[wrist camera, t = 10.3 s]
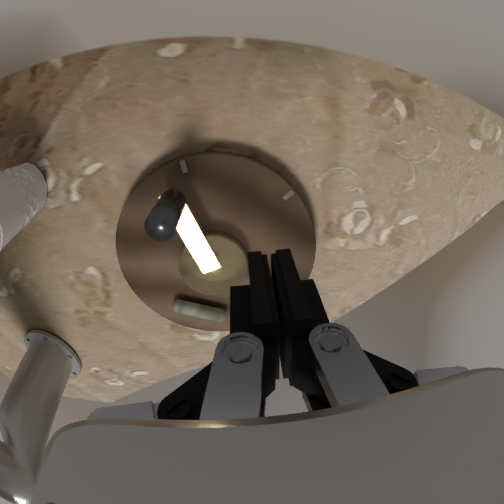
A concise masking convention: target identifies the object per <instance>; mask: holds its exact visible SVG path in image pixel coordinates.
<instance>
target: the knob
mask: <svg viewBox="0 0 504 504" xmlns="http://www.w3.org/2000/svg"><path fill="white" fill-rule="evenodd" d="M144 228H145V231H146V233H147V235H148V236H149V237H150V238H152V239H153V240H155V241H160V242H163V241H167V240H169V239H171V238H172V237H173V235H174V233H175V231H176V229H177V231H178V232H179V234H180V236H181V238H182V239H183V241H184V243H185V244H184V246H183V248H182V251H181V254H180V257H179V262H178V269H179V273H180V276H181V278H182V279H183V281H184V282H185V283H186V284H187V285H188V286H189V287H190V288H191V289H193V290H195V291H197V292H199V293H202V294H205V295H223V294H226V293H229V292H230V286H239V285H241V283H242V282H243V280H244V279H245V276H246V273H247V259H246V252H245V250H244V248H243V246H242V244H241V243H240V242H239V241H238V240H237V239H236V238H235V237H233V236H232V235H230V234H228V233H226V232H223V231H218V230H206V231H204V229H203V227H202V225H201V224H200V222H199V220H198V218H197V216H196V214H195V213H194V211H193V209H192V207H191V205H190V203H189V201H188V199H187V198H186V196H185V194H184V192H183V190H182V188H181V186H180V184H179V185H177V186H175V187H173V188H171V189H169V190H167V191H165V192H163V193H161V194H160V195H159V200H158V201H157V203H156V204H155V206H154V207H153V209H152V210H151V212H150V213H149V215H148V216H147V218H146V220H145V223H144Z"/></svg>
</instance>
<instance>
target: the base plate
mask: <svg viewBox="0 0 504 504" xmlns="http://www.w3.org/2000/svg"><path fill="white" fill-rule="evenodd" d="M179 184H180V186H181V188H182V190H183V192H184V194H185V196H186V198H187V199H188V201H189V203H190V205H191V207H192V209H193V211H194V213H195V214H196V216H197V218H198V220H199V222H200V224H201V225H202V227H203V229H204V231H206V230H218V231H223V232H226V233H228V234H230V235H232V236H233V237H235V238H236V239H237V240H238V241H239V242H240V243H241V244H242V246H243V248H244V250H245V252H246V259H247V273H246V276H245V279H244V280H243V282H242V283H241V285H250V281H249V268H248V256H247V252H254V251H261V254H267V258H268V263H269V268H270V273H271V254H274V253H276V250H279V249H290V250H291V253H292V256H293V259H294V262H295V265H296V268H297V271H298V274H299V277H300V280H307V279H308V278H309V276H310V273H311V271H312V268H313V264H314V260H315V251H316V241H315V232H314V228H313V223H312V221H311V218H310V215H309V213H308V211H307V209H306V207H305V205H304V204H303V202H302V200H301V198H300V197H299V195H298V194H297V192H296V191H295V190H294V188H293V187H292V186H291V185H290V184H289V183H288V182H287V181H286V180H285V179H284V178H283V177H282V176H281V175H280V174H279V173H277V172H276V171H274V170H273V169H272V168H270V167H269V166H267V165H265V164H263V163H261V162H259V161H257V160H255V159H252V158H249V157H247V156H244V155H240V154H235V153H230V152H219V151H209V152H198V153H193V154H188V155H184V156H182V157H179V158H176V159H174V160H171V161H169V162H167V163H166V164H164V165H162V166H160V167H159V168H157V169H156V170H155V171H153V172H152V173H151V174H149V175H148V176H147V177H146V178H145V179H144V180H143V181H142V182H141V183H140V184H139V186H138V187H137V188H136V189H135V190H134V191H133V192H132V194H131V195H130V197H129V198H128V200H127V201H126V203H125V205H124V207H123V209H122V211H121V214H120V217H119V221H118V225H117V231H116V250H117V257H118V261H119V264H120V268H121V270H122V272H123V275H124V277H125V279H126V280H127V282H128V284H129V285H130V287H131V288H132V290H133V291H134V292H135V294H136V295H137V296H138V297H139V298H140V299H141V300H142V301H143V302H144V303H145V304H146V305H147V306H148V307H150V308H151V309H152V310H153V311H155V312H157V313H158V314H160V315H161V316H163V317H165V318H167V319H169V320H171V321H173V322H175V323H178V324H181V325H183V326H187V327H190V328H194V329H200V330H208V331H229V330H230V292H229V293H226V294H223V295H205V294H202V293H199V292H197V291H195V290H193V289H191V288H190V287H189V286H188V285H187V284H186V283H185V282H184V281H183V279H182V278H181V276H180V273H179V269H178V262H179V257H180V254H181V251H182V248H183V246H184V244H185V243H184V241H183V239H182V238H181V236H180V234H179V232H178V231H177V229H176V231H175V233H174V235H173V237H172V238H171V239H169V240H167V241H163V242H160V241H155V240H153V239H152V238H150V237H149V236H148V235H147V233H146V231H145V228H144V223H145V220H146V218H147V216H148V215H149V213H150V212H151V210H152V209H153V207H154V206H155V204H156V203H157V201H158V200H159V195H160V194H161V193H163V192H165V191H167V190H169V189H171V188H173V187H175V186H177V185H179Z"/></svg>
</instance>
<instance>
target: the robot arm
mask: <svg viewBox="0 0 504 504" xmlns="http://www.w3.org/2000/svg"><path fill="white" fill-rule="evenodd" d="M247 256H248V268H249V281H250V285H239V286H230V334H229V335H227V336H225V337H224V338H222V339H221V340H220V341H219V342H218V345H217V347H216V350H215V354H214V359H213V361H212V362H211V363H210V364H209V365H207V366H206V367H205V368H204V369H202V370H201V371H200V372H198V373H197V374H196V375H194V376H193V377H192V378H191V379H189V380H188V381H187V382H185V383H184V384H183V385H181V386H180V387H179V388H177V389H176V390H174V391H173V392H172V393H171V394H169V395H168V396H166V397H165V398H164V399H163V400H162V401H161V402H160V403H155V404H153V402H152V401H149V402H142V403H136V404H128V405H119V406H112V407H102V408H98V409H96V410H94V411H93V412H92V413H91V414H90V415H89V417H88V419H87V420H83V421H78V422H74V423H71V424H69V425H67V426H64V427H62V428H60V429H59V430H58V431H56V432H55V434H54V435H53V436H52V437H51V439H50V440H49V442H48V444H47V446H46V443H47V440H48V437H49V433H50V430H51V427H52V423H53V420H54V417H55V415H56V412H57V409H58V406H59V403H60V400H61V398H62V395H63V392H64V389H65V387H66V384H67V382H68V379H69V378H73V377H76V376H78V375H79V373H80V371H81V362H80V360H79V358H78V357H77V355H76V354H75V352H74V351H73V350H72V349H71V348H70V347H69V346H68V345H67V344H66V343H64V342H63V341H62V340H60V339H59V338H57V337H56V336H54V335H52V334H50V333H48V332H45V331H42V330H31V331H29V332H28V333H27V334H26V336H25V340H24V341H25V345H26V348H27V351H26V353H25V355H24V357H23V359H22V360H21V362H20V364H19V366H18V368H17V370H16V372H15V374H14V376H13V378H12V380H11V382H10V385H9V387H8V389H7V391H6V394H5V395H4V398H3V400H2V403H1V405H0V430H1V433H2V436H3V439H4V442H1V441H0V497H2V498H3V499H5V500H7V501H9V502H11V503H14V504H504V369H501V368H480V369H473V370H468V369H467V368H464V367H459V366H456V367H447V368H436V369H424V370H416V371H415V373H411V372H410V371H408V370H406V369H405V368H403V367H400V366H398V365H396V364H394V363H391V362H389V361H387V360H384V359H382V358H380V357H378V356H376V355H373V354H371V353H369V352H367V351H365V350H363V349H362V348H361V346H360V345H359V343H358V342H357V340H356V339H355V337H354V335H353V334H352V333H351V332H350V330H349V329H348V328H346V327H344V326H343V325H339V324H337V323H330V322H329V320H328V317H327V314H326V312H325V309H324V306H323V304H322V301H321V298H320V296H319V293H318V290H317V288H316V285H315V283H314V281H313V279H307V280H300V277H299V274H298V271H297V268H296V265H295V262H294V259H293V256H292V253H291V250H290V249H279V250H276V253H274V254H271V273H270V268H269V263H268V258H267V254H261V251H254V252H247ZM279 355H280V361H281V367H282V373H283V378H289V382H290V386H294V387H295V388H297V389H298V390H300V391H302V396H303V399H304V402H305V404H306V407H307V409H308V412H303V413H296V414H288V415H279V416H270V417H265V409H266V397H268V396H269V394H271V393H272V392H273V391H274V390H275V379H279ZM45 447H46V448H45Z"/></svg>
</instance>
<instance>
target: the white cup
mask: <svg viewBox="0 0 504 504" xmlns="http://www.w3.org/2000/svg"><path fill="white" fill-rule="evenodd" d="M46 199H47V184H46V182H45V179H44V176H43V174H42V173H41V171H40V170H39V169H38V168H37V167H36V166H35V165H33V164H30V163H28V162H26V163H22V164H19V165H16V166H14V167H10V168H7V169H5V170H2V171H0V252H1V250H2V249H3V248H4V247H5V246H6V245H7V244H8V243H9V242H10V241H11V240H12V239H13V238H14V237H15V236H16V235H17V234H18V233H19V232H20V231H21V230H22V229H23V228H24V227H25V226H26V225H27V223H28V222H30V221H31V219H32V217H33V216H34V215H35V214H36V213H38V212H39V211H40V210H41V209H42V208H43V207H44V205H45V202H46Z"/></svg>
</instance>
